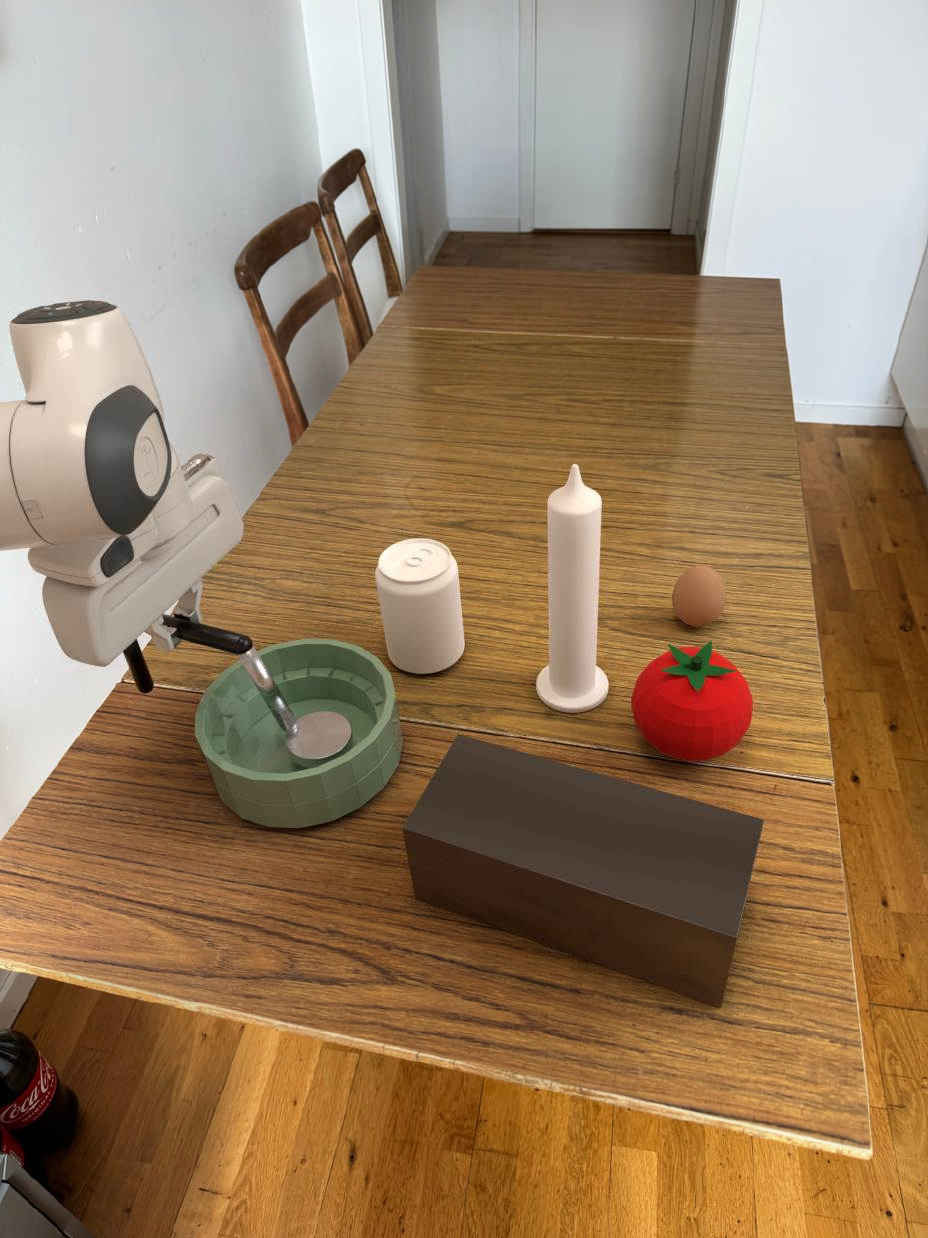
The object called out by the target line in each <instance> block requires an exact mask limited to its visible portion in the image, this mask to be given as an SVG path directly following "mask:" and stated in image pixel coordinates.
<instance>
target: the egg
mask: <svg viewBox="0 0 928 1238" xmlns="http://www.w3.org/2000/svg"><path fill="white" fill-rule="evenodd" d="M726 591H727V590H726V587H725V584H724V581H723V579H722V577H721V576H720V574H719V573H718V572H717V571H716V570H715V569H714V568H712V567H710V566H707V565H705V564H704V565H703V564H696V565H694V566H691V567H688V568H687V569H686V570H684V571H683V572H682V573H681V574H680V576H679V577H678V578H677V580H676V581H675V584H674V586H673V589H672V592H671V593H672V594H671V604H672V609H673V611H674V613H675V615H676V616H677V618H679V619H680V621H682V622H683V623H684V624H685V625H688V626H690V627H694V628H700V627H701V628H702V627H706V626H708V625H711V624H712V623H714V622H715V621H717V620H718V618H719V617H720V616H721V615H722V613H723V611H724V609H725V605H726V601H727V592H726Z"/></svg>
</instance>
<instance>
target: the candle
mask: <svg viewBox="0 0 928 1238" xmlns="http://www.w3.org/2000/svg"><path fill="white" fill-rule="evenodd" d="M546 506H547V507H546V508H547V509H546V510H547V588H548V589H547V591H548V592H547V595H548V596H547V597H548V599H547V602H548V603H547V604H548V605H547V606H548V612H547V613H548V665H546V666H545V667H543V668H542V669H541V670H540V672H539V673H538V675H537V676H536V681H535V689H536V692H537V696H538V697H539V699H540V701H541V702H542V703H543V704H545V705H546V706H548V707H549V708H551V709H553V710H555V711H559V712H562V713H570V714H576V713H584V712H588V711H590V710H593V709H595V708H597V707H599V706H600V705H601V704H602V703H603V702H604V701H605V699H606V698H607V696H608V693H609V685H610V684H609V679H608V676H607V675H606V673H605V672H604V671H603V670H602V669H601V668H600V667H599V666H597V652H598V651H597V649H598V647H597V646H598V620H599V593H600V589H599V588H600V566H601V564H600V563H601V537H602V535H601V533H602V506H603V501H602V496H601V495H600V494H599V493H598V492H597V491H596V490H595V489H592V488H591V487H588V486H587V485H585V484H584V482H583V480H582V476H581V472H580V467H579V465H578V464H576V463H574V464H572V465H571V467H570V472H569V475H568V478H567V481H566V483H565V485H564V486H562V487H559V488H556V489H555V490H553V491H552V492H551V493H550V494H549V496H548V498H547V505H546Z"/></svg>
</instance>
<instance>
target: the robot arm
mask: <svg viewBox="0 0 928 1238" xmlns="http://www.w3.org/2000/svg"><path fill="white" fill-rule="evenodd" d="M9 334H10V339H11V345H12V350H13V353H14V357H15V361H16V364H17V368H18V371H19V375H20V378H21V382H22V385H23V388H24V391H25V394H26V395H25V397H24V399H22V400H11V401H1V402H0V552H3V551H12V550H22V549H29V550H28V551H27V561H28V563H29V565H30V567H31V568H32V570H33V571H34V572H35V573H38V574H40V575H43V576H45V578H44V581H43V584H42V588H41V589H42V590H41V598H42V603H43V607H44V610H45V613H46V616H47V619H48V622H49V625H50V627H51V629H52V631H53V634H54V636H55V640H56V641H57V643H58V645H59V647H60V649H61V651H62V652H63V653H64V655H65V656H66V657H68V658H69V659H71V660H73V661H75V662H79V663H81V664H85V665H89V666H92V667H93V666H94V667H101V668H105V667H108V666H109V665H111V664H112V663H113V662H114V661H115V659H117V658H118V657H119V656H120V655H121V654H123V651H124V650H125V649H126V648H127V647H128V646H129V645H130V644H131V643H133V642H134V641H135V640H136V639H137V640H138V638H139V637H140V636H141V635H142V634H143V633H145V634H147V635H149V636H150V637H151V640H152V642H153V645H154V647H155V648H156V649H157V650H158V651H160V652H164V653H167V654H170V653H172V652H173V650H174V649H176V648H177V647H178V645H180V644H181V642H182V640H181V639H180V638H179V633H178V630H177V628H173V627H167V626H166V625H162V623H163V622H164V620H163V617H162V614H165V613H166V611H168V610H169V609H170V608H171V607H172V606H173V605H175V603H176V602H178V603H177V604H178V606H177V608H176V609H175V610H174V611H173V612H172V614H173V616H174V617H178V618H181V619H185V620H189V621H193V622H197V623H201V624H202V622H203V619H204V618H203V616H202V613H201V610H200V606H201V599H202V593H203V585H204V584H203V582H202V578H203V577H204V576H205V575H206V574H207V573H208V572H209V571H211V569H213V568H214V567H215V566H216V565H217V564H218V563H219V562H220V561H221V560H222V559H223V558H225V556H227V555H228V554H229V553H230V552H231V551H232V550H233V549H234V548H235V547H236V546H237V545H238V544H240V542H242V539H243V537H244V536H243V535H244V530H245V524H244V521H243V517H242V514H241V512H240V509H239V506H238V503H237V501H236V499H235V497H234V494H233V492H232V489H231V488H230V486H229V484H228V483H227V481H225V479H224V477H223V473H222V469H221V466H220V463H219V460H218V459H217V458H215V457H214V456H213V455H211V454H208V453H207V454H204V453H201V452H200V453H196V454H195V455H192V457H190V459H188V461H187V462H186V463H185V464H183V465H182V464H181V462H180V459H179V456H178V452H177V450H176V449H175V448H174V447H175V446H173V445H172V443H171V442H170V440H169V438H168V434H167V431H166V427H165V424H164V423H165V421H164V419H165V415H164V406H163V403H162V400H161V396H160V394H159V391H158V388H157V385H156V382H155V379H154V376H153V373H152V371H151V368H150V365H149V363H148V360H147V358H146V356H145V353H144V350H143V348H142V346H141V344H140V342H139V340H138V338H137V335H136V333H135V331H134V329H133V327H132V326H131V323H130V322H129V320H128V318H127V316H126V315H125V313H124V312H123V310H122V309H121V307H119V306H117V305H116V304H112V303H109V302H108V301H103V300H91V299H90V300H89V299H88V300H77V301H67V302H66V301H65V302H57V303H53V304H49V305H48V304H47V305H40V306H36V307H33V308H30V309H27V310H25V311H23V312H20V313H18V314H17V315H16V316H15V317H14V318H13V319H11V320H10V321H9Z"/></svg>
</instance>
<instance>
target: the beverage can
mask: <svg viewBox="0 0 928 1238" xmlns="http://www.w3.org/2000/svg"><path fill="white" fill-rule="evenodd" d="M376 565H377V566H376V568H375V572H374V578H375V584H376V591H377V597H378V603H379V608H380V614H381V622H382V627H383V632H384V638H385V639H384V640H385V645H386V650H387V656H388V659H389V660H390V662H391V663H392V664H393V666H395V667H396V668H398V669H399V670H402V671H405V672H407V673H410V674H418V675H427V674H434V673H438V672H441V671H445V670H446V669H448V668H450V667H451V666H453V665H454V664H456V663H457V662H458V661H459V659H460V658H461V657H462V655H463V653H464V651H465V648H466V647H465V646H466V645H465V632H464V631H465V630H464V620H463V611H462V599H461V589H460V588H461V587H460V578H459V566H458V563H457V560H456V559H455V556H453V555H452V552H451V551H450V549H449V547H448V546H447V545H445V544H444V543H443V542H441V541H438V540H435V539H430V538H422V537H421V538H410V539H404V540H400V541H398V542H396V543H393V544H391V545H390V546H388V547H387V548H386V549H384V551H382V552H381V554H380V556H379V558H378V562H377V564H376Z"/></svg>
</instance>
